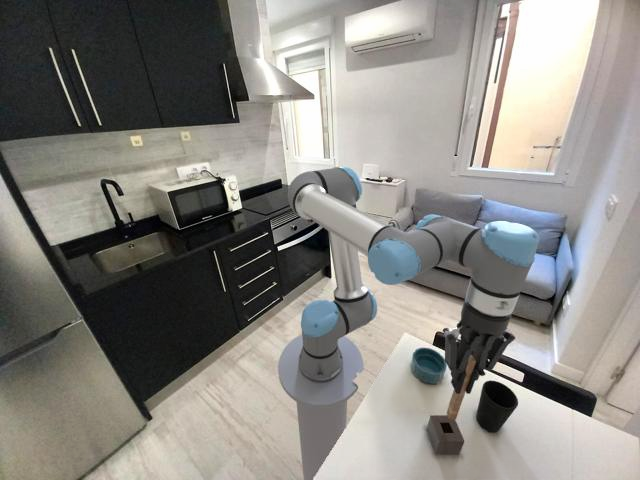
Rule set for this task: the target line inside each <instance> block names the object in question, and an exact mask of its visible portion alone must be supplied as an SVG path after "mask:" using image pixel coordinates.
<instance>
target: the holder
mask: <svg viewBox="0 0 640 480" xmlns="http://www.w3.org/2000/svg"><path fill="white" fill-rule="evenodd" d="M426 432H427V434H428V437H429V440H430V443H431V446H432V449H433V452H434V455H437V456H438V455H439V456H443V455H444V456H446V455H447V456H449V455H452V456H457V455H460V454H461V451H462V449H463V447H464V444H465V439H464V436H463V434H462V432H461V430H460V426H459V425H458V423H457V419H449V417H448V415H447V414H445V415H444V414H443V415H442V414H435V415H434V414H433V415H429V418H428V422H427V426H426Z"/></svg>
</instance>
